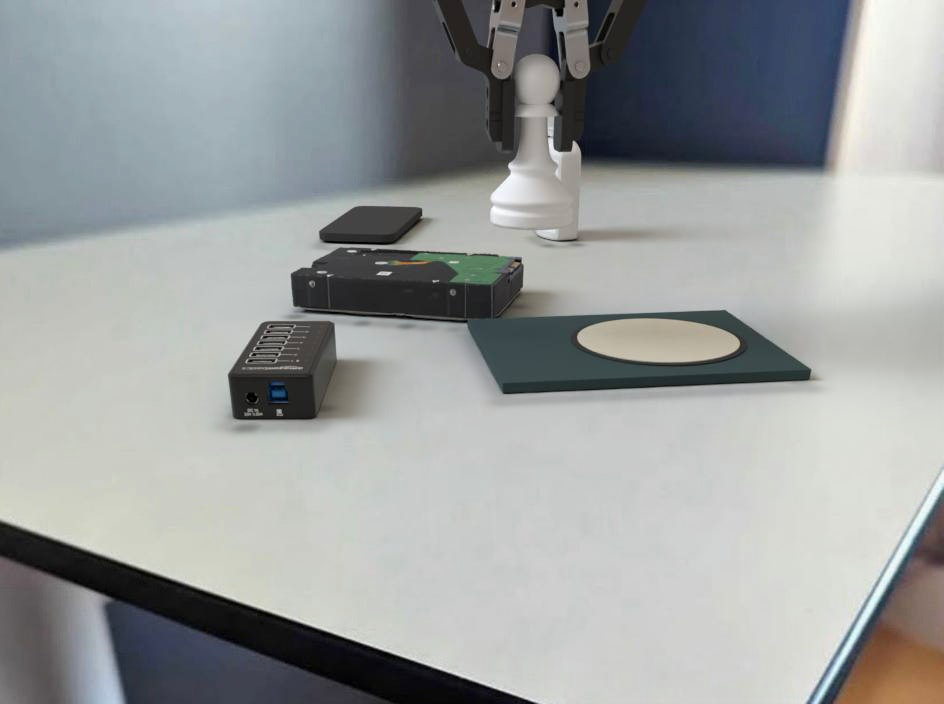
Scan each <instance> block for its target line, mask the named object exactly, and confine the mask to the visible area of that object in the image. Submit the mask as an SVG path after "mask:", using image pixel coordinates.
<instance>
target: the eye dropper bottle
mask: <svg viewBox="0 0 944 704" xmlns="http://www.w3.org/2000/svg"><path fill="white" fill-rule="evenodd" d="M553 132H554V117H548V144H549V152H550V155H551V158H552V159H553V161H554V162H556V163H557V164H558V169H557V170H556V172H555V175H556V176H557V177H558V179H559V180H560V181H561V182H562V183H563V184H564V185H565V186H566V188H567V189H568V190H569V191H570V192H571V193H572V194H573V197H574V201H573V203H572V204H571V206H570V207H571V208H572V209H573V222H572V223H571V224H570V225H569V226H567V227H564V228H559V229H551V230H534V231H535V233H536V235H537V236H539V237H541V238H543V239H546V240H550V241H573V240H576V239H577V237H578V234H579V233H578V232H579V217H580V214H579V213H580V197H581V194H580V193H581V177H582V176H581V175H582V174H581V173H582V152H581V148H580V147H579V144H578V143H577V141H573V147H572V151H571V152H558V151H556V150H554V147H553Z"/></svg>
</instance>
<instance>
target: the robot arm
mask: <svg viewBox="0 0 944 704" xmlns="http://www.w3.org/2000/svg"><path fill="white" fill-rule="evenodd" d="M431 2H432V4H433V7H434V9H435V12H436V15H437V17H438V20H439V22H440V25H441V27H442V29H443V33H444V34H445V38H446V41H447V43H448V45H449V47H450V50H451V52H452V54H453V57H454V60H455V61H456V62H457V63H458V64H461V65H463V66H465V67H468V68H470V69H472V70H475V71H477V72H479V73H480V75H482V76H483V79H484V83H485V99H484V100H485V109H484V110H485V113H484V116H485V117H484V118H485V119H484V130H485V133H486V136H487V139H488V140H489V141H491V142H492V143H495V150H496V151H497V152H498V153H500V154H512V153H513V152H514V145H515V116H514V111H515V106H516V105H515V104H516V97H515V81H513V80H511V78H512V73H513V70H514V62H515V57H516V50H517V45H518V38H519V34H520V32H521V30H522V29H521V28H522V25H523V19H524V12H525V9H530V8H534V7H537V6H540V7H542V8H546V9H548V10H549V9H550V10H552V19H553V21H552V22H553V27H554V28H553V29H554V31H555V34H556V40H557V41H556V42H557V51H558V62H559V70H560V71H559V72H560V79H561V82H560V88H559V91H558V94H557V96H556V97H555V98H554V106H555V107H556V108H557V110H558V111H559V114H560V115H559V116H555V117H554V132H553V147H554V150H556V151H558V152H571V151H572V147H573V141H575V142H579V141H581V139H582V136H583V134H584V132H585V131H584V130H585V115H586V114H585V113H586V96H587V95H586V93H587V84H588V83H587V82H588V79H589V78H590V77H591V75H592V74H593V73H595V72H597V71H599V70H602V69H605V68H607V67H614V66H616V65H617V64H618V63H620V61H621V59H622V57H623V54H624V52H625V50H626V48H627V46H628V44H629V41H630V39H631V38H632V35H633V32H634V30H635V29H636V26H637V24H638V22H639V19H640V17H641V15H642V13H643V11H644V9H645V6H646V4H647V2H648V0H611V3H610V5H609V7H608V9H607V11H606V14H605V16H604V19H603V20H602V23H601V25H600V28H599V30H598V33H597V34H596V37H595V39H594V41H593V43H591V44H589V33H588V31H589V24H590V21H589V7H588V0H492V3H491V10H490V15H489V24H488V25H489V26H488V27H489V31H488V39H487V45H486V46H484V45H482V44H480V43H478V39H477V37H476V34H475V31H474V29H473V26H472V23H471V21H470V18H469V16H468V13H467V10H466V8H465V5H464V2H463V0H431Z"/></svg>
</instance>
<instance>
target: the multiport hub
mask: <svg viewBox="0 0 944 704" xmlns="http://www.w3.org/2000/svg"><path fill="white" fill-rule="evenodd" d="M335 325H336V324H335V322H333V321H331V320H330V321H329V320H267V321H262V322H261V323H260V324H259V326H258V328H257V329H256V330H255V332H254V334H253V335H252V336H251V338H250V339H249V340H248V342H247V344H246V346H245V347H244V348H243V350H242V352H241V353H240V355H239V356H238V358H237V360H236V361H235V362H234V364H233V366H232V367H231V369H230V370H229V371H228V373H227V379H228V388H229V389H228V390H229V396H230V397H229V398H230V405H231V413H232V417H233V418H234V419H313V418H315V417H317V415H318V413H319V411H320V407H321V405H322V402H323V399H324V396H325V394H326V391H327V388H328V385H329V383H330V380H331V377H332V375H333V372H334V369H335V366H336V363H337V360H338V356H337V341H336V340H337V339H336V326H335Z"/></svg>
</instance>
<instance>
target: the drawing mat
mask: <svg viewBox="0 0 944 704" xmlns="http://www.w3.org/2000/svg"><path fill="white" fill-rule="evenodd" d="M467 329H468V331H469V333H470V335H471V337H472V338H473V341H474V342H475V344H476V346H477V348H478V350H479V352H480V353H481V355H482V357H483V360H484V361H485V363H486V365H487V366H488V368H489V370H490V373H491V374H492V375H493V378H494V380H495V381H496V383H497V385H498V387H499V389H500V391H501V393H502V394H513V393H534V392H537V393H538V392H552V391H553V392H555V391H556V392H558V391H577V390H578V391H580V390H599V389H603V390H604V389H622V388H642V387H643V388H645V387H666V386H667V387H668V386H669V387H671V386H689V385H692V386H693V385H711V384H713V385H714V384H733V383H754V382H755V383H757V382H758V383H759V382H776V381H777V382H779V381H781V382H782V381H801V380H802V381H803V380H810V379H811V373H812V369H811V368H810V367H809V366H807V365H806V364H805V363H803V362H802V361H800V360H799V359H797V358H796V357H794V356H793V355H791V354H790V353H789V352H787V351H786V350H784V349H782V347H780V346H778V345H777V344H775V343H774V342H772V340H769V338H767V337H765V336H764V335H763V334H761V333H759V332H758V331H757V330H755V329H753V328H752V327H751V326H749V325H748V324H746V323H745V322H744V321H742V320H741V319H739V318H737V317H736V316H735V315H734V314H732V313H730V312H729V311H728V310H727V309H716V310H715V309H714V310H686V311H666V312H665V311H661V312H659V311H658V312H633V313H632V312H631V313H604V314H578V315H576V314H573V315H551V316H550V315H547V316H546V315H545V316H526V317H525V316H522V317H521V316H519V317H497V318H496V317H495V318H491V319H468V320H467Z"/></svg>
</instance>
